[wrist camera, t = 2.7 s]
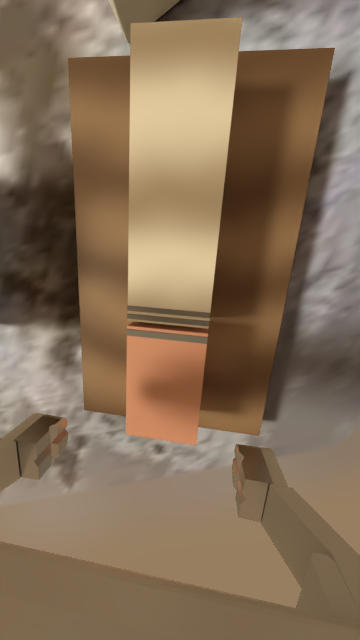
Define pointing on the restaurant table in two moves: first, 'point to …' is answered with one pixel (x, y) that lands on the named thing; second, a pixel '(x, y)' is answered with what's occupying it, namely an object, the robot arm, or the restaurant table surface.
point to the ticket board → (241, 233)
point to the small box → (138, 12)
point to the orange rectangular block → (164, 380)
